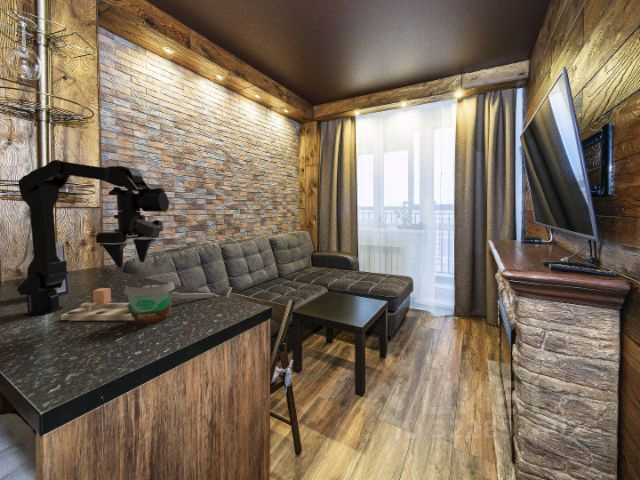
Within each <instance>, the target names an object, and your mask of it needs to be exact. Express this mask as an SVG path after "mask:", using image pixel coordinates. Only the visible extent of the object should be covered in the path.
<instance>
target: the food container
mask: <svg viewBox="0 0 640 480" xmlns="http://www.w3.org/2000/svg"><path fill="white" fill-rule="evenodd" d="M175 288H176V286H175V283H174V282H173V280H172V281H171V282H169V283H165V284H146V285H142V286H137V287H130V286H127V284H126V285H125V287H124V292H123V293H124V295H125V296H127V299H128V303H129V306H130V311H131V317H132V320H131V321H132V323H134V324H137V325H152V324H156V323H161V322H164V321H165V320H168V319H169V318H170V317H171V310H172V301H171V299H172V292H173V290H174V289H175Z"/></svg>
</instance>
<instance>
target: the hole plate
mask: <svg viewBox="0 0 640 480" xmlns="http://www.w3.org/2000/svg"><path fill="white" fill-rule="evenodd" d="M90 303H91V302H84V303H81V304H80V306H79V307H77V308H76V309H72V310H70V311H68V312H65V313H62V314H60V320H69V321H132V317H131V311H130V306H129V302H108V303H106V304H96V305H94V306H91V311H89V309H88V307H87V305H88V304H90Z"/></svg>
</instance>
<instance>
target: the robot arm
mask: <svg viewBox="0 0 640 480" xmlns="http://www.w3.org/2000/svg"><path fill="white" fill-rule="evenodd" d="M70 177H79V178H87V179H92V180H98V181H99V180H100V181H103V182H106V184H107V183H108V184H110V185H113V186H114V187H113V189H112V190H110V191H109V192H108V193H107V194H108V195H109V196H116V210H117V214H114V215H113V219H117V228H115V229H114V231H102V232H97V233H96V235H95V243H96V244H99V245H100V246H101V247H103V248H104V250H105V251H106V252H107V254H108V255H109V256H110V258H111V259H112V261H113V262H114V264H115V265H116V267H117V268H118V269H119V268H123V265H124V249H125V247H126V246H127V245H128V243H127V242H126V241H127V240H130V239H133V244H134V246H135V249H136V252H137V253H136V254H137V258H138V259H139V262H140V263H144V262H145V260H146V257H147V254H148V251H149V248H150V246H151V244H152V243H154V242H155V241H156V242H157V238H160V233H161V232H164V225H163V221H162V220H159V219H155V220H153V221H148V220H146V216H145V215H144V214H142V212H141V211H143V212H147V213H148V212H154V213H155V212H156V213H157V212H158V213H165V212H167V211H168V209H169V205H170V200H169V198H168V195H167V194H166V192H165V190H166V189H165V188H162V187H156V188H155V187H154V188H151V187H150V186H149V185H148V184H147V183H146V181H145V180H144V179H143V178H144V177H143V175H142V173H141V171H140V170H138V169H136V168H132V167H128V166H123V165H113V166H112V165H109V166H96V165H95V166H94V165H88V164H82V163H75V162H69V161H65V160H64V161H63V160H61V159H54V160H51V161H49V162H48V163H47V164H46V165H43V166H41V167H38V168H36V169H34V170H32V171H30V172H29V173H28V174H26V175H23V176H22V177H21V178H20V179H19V180H18V189H19V193H20V197H21V198H22V200H23V201H24V202H25V203H26V205H27V206H28V207H29V217H30V225H31V226H30V228H31V238H32V240H31V241H33V252H34V258H33V260H32V262H31V261H30V263H29V265H28V267H27V274H26V278H25V280H24V281H22V282H21V284H20V285H19V286H18V287H17V291H18V294H19V295H20V296H26V304H27V307H26V308H27V311H24V312H22V316H23V315H24V316H27V315H28V316H29V315H31V316H32V315H36V316H37V315H47V314H50V313H53V312H55V311H58V310H60V309H63V305H60V299H59V297H60V296H58V295H57V290H55V289H56V288H61V287H62V283H63V280H65V278H66V274H67V275H68V274H69V272H68V268H67V265H68V261H67V260H66V261H61V260H60V259H59V258H58V256H57V253H56V241H55V240H56V230H55V219H54V218H55V216H54V206H55V205H56V203H57V202H58V200H59V195H60V190H61V189H62V188H64V186H66V185H67V182H68V180H69V179H70ZM122 188H125V189H122ZM135 192H137V193H135Z"/></svg>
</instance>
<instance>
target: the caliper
mask: <svg viewBox="0 0 640 480" xmlns="http://www.w3.org/2000/svg"><path fill="white" fill-rule="evenodd" d="M214 295H215V296H214ZM213 296H214V297H218V295H217V294H215V293H213V292H212V293H210V292H209V293H208V292H207V293H206V292H205V293H204V292H202V293H201V292H200V293H199V292H198V293H197V292H196V293H193V292H192V293H180V292H178V291H177V292H175V291H174V292H173V291H172V299H171V302H178V301H179V300H180V299H181V300H182V299H211V298H214V297H213ZM210 297H211V298H210Z"/></svg>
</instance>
